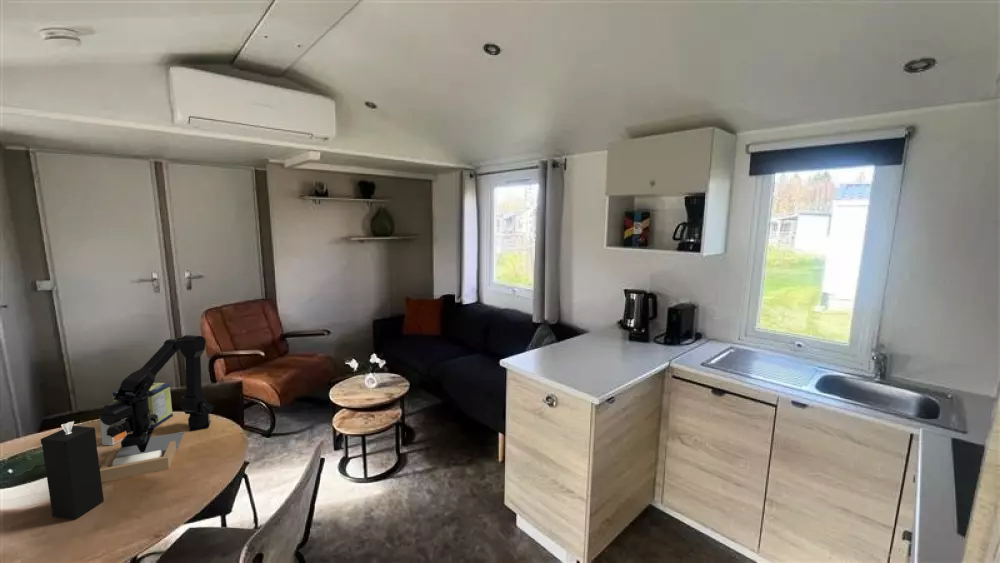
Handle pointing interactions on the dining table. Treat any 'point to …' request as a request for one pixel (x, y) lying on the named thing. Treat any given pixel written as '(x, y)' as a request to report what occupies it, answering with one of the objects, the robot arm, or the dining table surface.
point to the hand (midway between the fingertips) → (142, 451)
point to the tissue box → (72, 471)
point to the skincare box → (108, 439)
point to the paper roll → (137, 458)
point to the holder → (163, 443)
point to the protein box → (158, 402)
